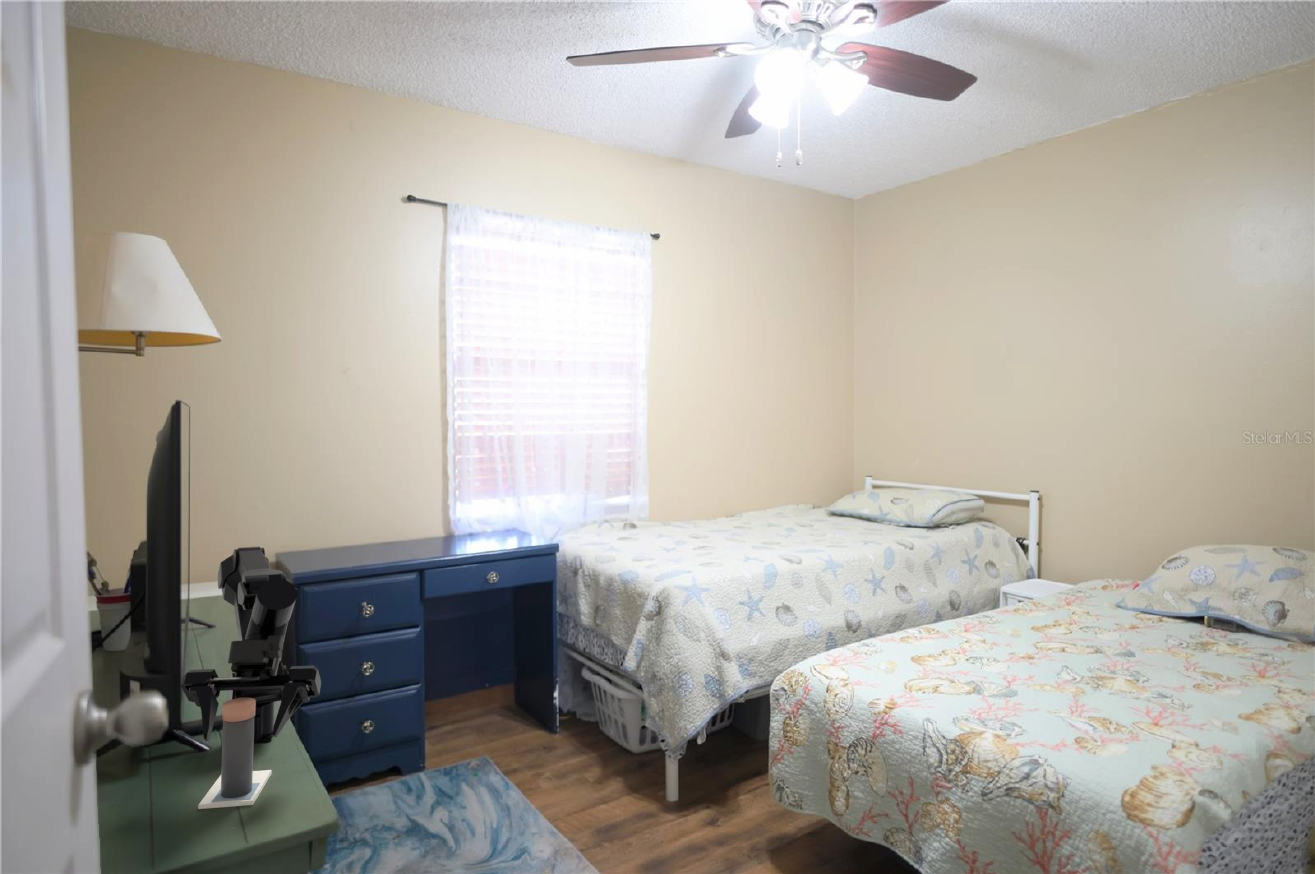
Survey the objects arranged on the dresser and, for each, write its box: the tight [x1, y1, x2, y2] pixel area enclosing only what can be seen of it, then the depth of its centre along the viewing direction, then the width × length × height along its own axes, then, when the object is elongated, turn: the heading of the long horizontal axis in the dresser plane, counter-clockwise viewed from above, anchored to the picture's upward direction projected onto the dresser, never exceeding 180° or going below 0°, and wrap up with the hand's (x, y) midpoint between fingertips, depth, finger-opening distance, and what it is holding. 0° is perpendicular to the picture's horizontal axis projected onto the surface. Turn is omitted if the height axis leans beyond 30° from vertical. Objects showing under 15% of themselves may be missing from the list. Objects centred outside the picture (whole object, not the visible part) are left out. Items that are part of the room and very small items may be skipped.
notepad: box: [197, 769, 273, 810], centre depth 111 cm, size 10×7×1 cm
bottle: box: [220, 698, 256, 798], centre depth 109 cm, size 4×4×13 cm
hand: (240, 738), depth 111 cm, fingers open, 9 cm apart
